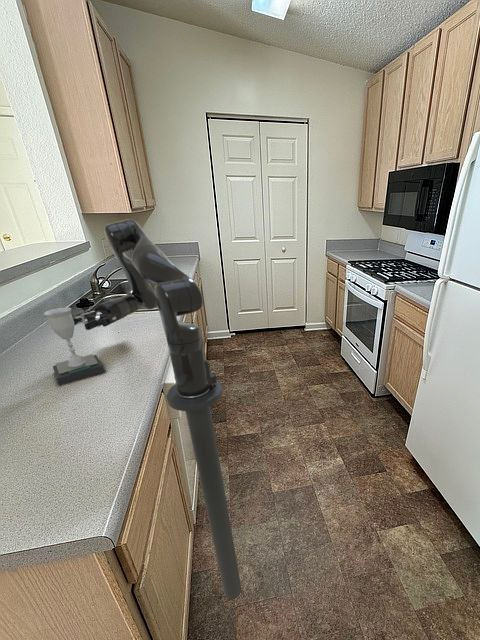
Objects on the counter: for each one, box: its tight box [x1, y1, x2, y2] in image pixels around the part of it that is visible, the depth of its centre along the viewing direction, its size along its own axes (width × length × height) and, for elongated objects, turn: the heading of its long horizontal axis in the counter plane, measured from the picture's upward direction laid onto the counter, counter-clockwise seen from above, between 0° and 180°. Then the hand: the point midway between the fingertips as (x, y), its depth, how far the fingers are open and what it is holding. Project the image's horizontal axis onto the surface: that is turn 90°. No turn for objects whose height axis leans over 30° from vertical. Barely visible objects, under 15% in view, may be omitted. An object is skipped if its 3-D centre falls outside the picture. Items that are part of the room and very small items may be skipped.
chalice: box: [43, 307, 86, 367], centre depth 106 cm, size 7×7×18 cm
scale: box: [52, 354, 106, 387], centre depth 110 cm, size 13×11×3 cm
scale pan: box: [55, 353, 98, 375], centre depth 110 cm, size 11×9×1 cm
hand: (75, 326), depth 108 cm, fingers open, 8 cm apart
